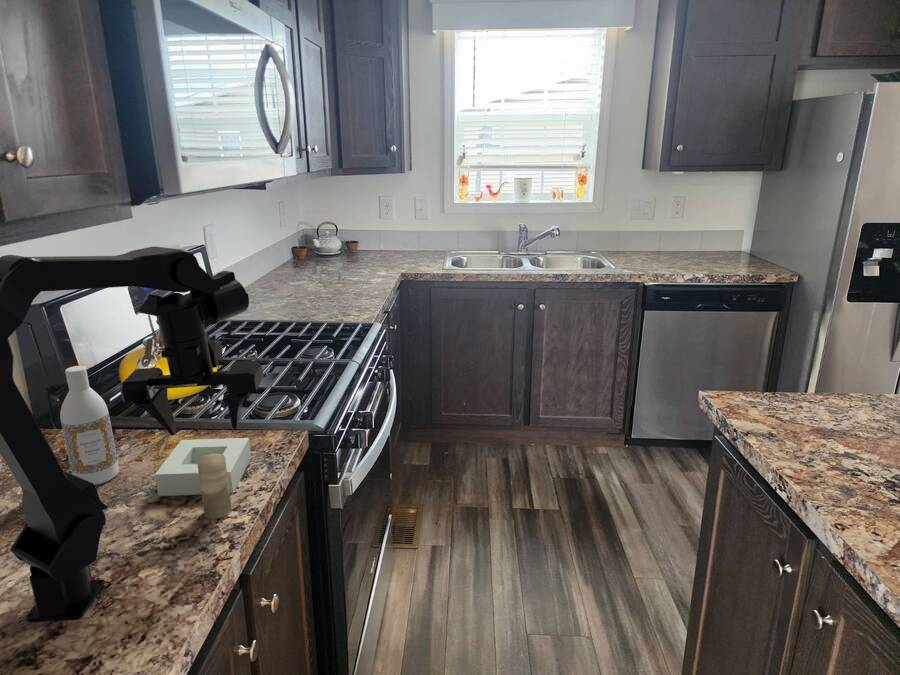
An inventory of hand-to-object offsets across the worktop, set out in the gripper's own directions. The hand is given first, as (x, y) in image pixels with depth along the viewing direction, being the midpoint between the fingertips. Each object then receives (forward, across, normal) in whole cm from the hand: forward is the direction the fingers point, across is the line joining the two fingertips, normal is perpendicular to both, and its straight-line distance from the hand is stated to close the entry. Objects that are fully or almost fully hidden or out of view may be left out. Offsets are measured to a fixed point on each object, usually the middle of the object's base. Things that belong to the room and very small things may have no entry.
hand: (205, 431), depth 91 cm
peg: (+14, 0, +2) cm, 14 cm away
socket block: (+14, +5, -10) cm, 18 cm away
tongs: (+15, +18, -22) cm, 32 cm away
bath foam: (+13, +24, -11) cm, 29 cm away
